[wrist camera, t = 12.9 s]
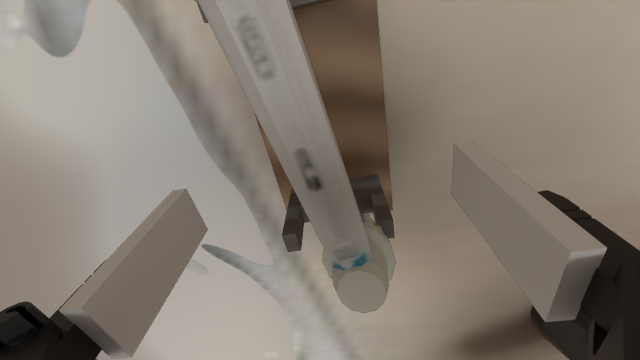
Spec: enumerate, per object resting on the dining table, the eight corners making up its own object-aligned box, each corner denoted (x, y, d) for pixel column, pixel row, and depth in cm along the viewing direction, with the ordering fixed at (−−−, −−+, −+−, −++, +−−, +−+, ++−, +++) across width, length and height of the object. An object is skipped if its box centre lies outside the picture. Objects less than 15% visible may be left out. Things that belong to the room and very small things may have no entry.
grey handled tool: (230, -217, 8) (417, 332, 17) (278, -95, 14) (396, 260, 23) (99, -124, 9) (339, 346, 18) (196, -49, 15) (339, 274, 24)
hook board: (389, 202, 32) (410, 260, 24) (292, 216, 33) (283, 276, 25) (365, -93, 19) (394, -175, 11) (207, -49, 20) (134, -94, 12)
